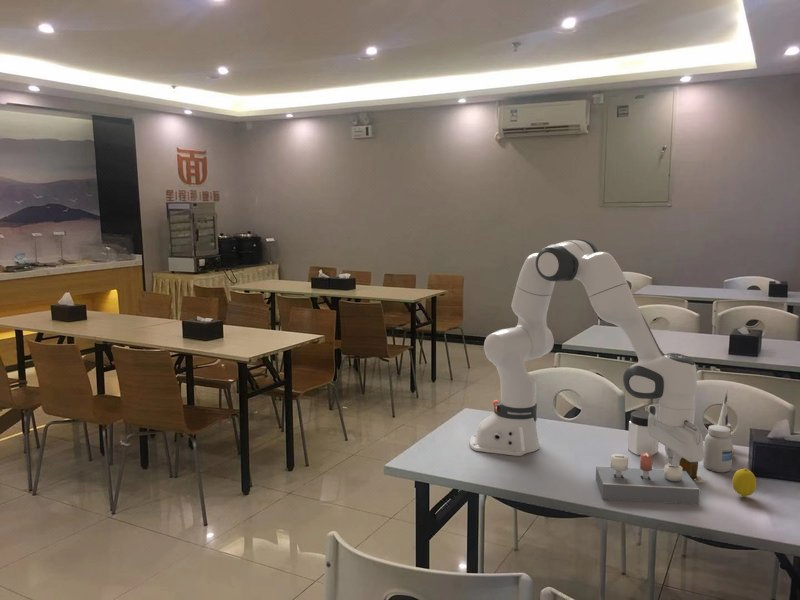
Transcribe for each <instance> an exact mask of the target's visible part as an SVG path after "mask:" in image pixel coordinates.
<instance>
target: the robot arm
mask: <svg viewBox="0 0 800 600" xmlns="http://www.w3.org/2000/svg"><path fill="white" fill-rule="evenodd" d="M518 275H519V276H518V278H517V281H516V285H515V289H514V294H513V297H512V300H511V304H510V306H511V309H512V312H513V313H514V315H515V316H516V317H518V318H517V319H518V320H517V325H516V326H515V327H514V326H513V327H509V328H508V327H507V328H502V329H498V330H496V331H494V332H492V333H490V334H488V335H487V336H486V338H485V339H484V343H483V351H484V354H485V356H486V358H487V360H488V361H489V362H491V364H493V365H494V366H495V368H496V370H497V372H498V376H499V379H500V380H499V381H500V400H498V399H494V400H493V402H492V406H493V408H494V409H493V411H494V412H492V414H490V415H489V416H487V417H486V418H483V420H480V423H479V424H478V426H477V429H476V432H475V433H474V434H472V435H471V437H470V439H469V447H470V448H471V449H472V450H473V451H475V452H481V453H482V452H484V453H491V454H499V455H506V456H507V455H508V456H515V457H522V456H524V455H525V454H528V453H532V452H535V451H537V450H539V449H540V447H541V446H540V445H541V443H540V441H539V436H538V431H537V430H538V429H537V419H538V404H537V402H536V401H537V382H536V378H535V377H534V376H533V375H532V374H530V373H528V371H527V368H526V362H527V361H531V360H534V359H539V358H541V357H543V356H545V355H548V354H549V353H550V352H551V351H552V350H553V348H554V345H555V339H554V336H553V332H552V331H551V329H550V328H549V327H548V322H547V315H548V310H549V307H550V303H551V299H552V295H553V292H554V288H555V284H556V282H557V283H559V282H570V281H573V280H574V279H575V280H578V281H579V282H581V283H582V285H583V287H584V289H585V291H586V294H587V298H588V299H589V302H590V305H591V306H592V309H593V310H594V312H595V313H596V314H597V316H598V318H599V319H601V320H602V321H604V322H607V323H609V324H611V325H612V324H613V325H615V326H616V327H618V328H620V329H621V330H623V331H622V332H624V333H625V334H626V335H627V338H628V340H629V342H630V344H631V346H632V348H633V350H634V352H635V354H636V356H637V359H638V362H635V363H634V364H632V365H630V366H629V367H628V368H627V369H626V370H624V373H623V375H622V384H623V387H624V389H625V390H626V391H627V393H628V394H629V395H630V396H632V397H634V398H635V399H636V398H637V399H643V400H645V399H646V400H653V399H654V400H655V399H657V400H658V403H656V404H649V405H648V406H647V407H648V408H647V411H648V412H649V413H650V414H649V416H648V433H649V435H650V436H651V437H652V438H654V439H655V440H657V441H658V442H659V444H661V445H663V446H664V450H665V454H666V462H667V464H671V465H672V466H674V467H678V466H679V463H680V460H681V458H682V457H683V458H684V459H686V460H688V461H689V462H698V463H700V462H702V461H703V457H704V438H703V434H702V432H701V431H700V429H699V426H697V425H696V424H695V414H696V402H695V395H696V392H697V387H698V379H697V378H698V376H697V375H698V374H697V365H696V363H695V361H694V360H693V359H692V358H691V357H689V356H687V355H684V354H681V353H677V352H676V353H675V352H668V353H664V352H663V351H662V350H661V348H660V347H659V344H658V342H657V341H656V338H655V337H654V335H653V332H652V330H651V328H650V327H649V324H648V322H647V321H646V319H645V316H643V315H644V314H643V313H642V312H641V310H640V307H639V306H638V305H637V302H636V299H635V298H634V295H633V293H632V290H631V288H630V286H629V283H628V280H627V279H626V277H625V274H624V273H623V270H622V269H621V267H620V265H619V264H618V262H617V261H616V259H615V258H614V257H613V255H612V254H610V253H609V252H607V251H598V248H597V246H595V244H594V243H593V242H591V241H590V240H587V239H575V240H574V239H573V240H572V239H571V240H569V239H568V240H564V241H561V242H557V243H553V244H549V245H548V246H545V247H544V248H541V250H540V251H539V252H534V253H531V254H530V255H528V256H527V257H526V258H525V261H524V263H523V265H522V267H521V270H520V271H519V274H518Z"/></svg>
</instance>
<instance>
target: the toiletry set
mask: <svg viewBox="0 0 800 600" xmlns="http://www.w3.org/2000/svg"><path fill="white" fill-rule="evenodd" d="M719 414H720V415H719V418H718V421H717V424H711V425H709V426H708V429H707V430H708V431H707V434H706V435H705V437H704V441H703V446H704V457H703V459H702V461H703V463H702V464H703V467H704V468H706V469H707V470H708V471H712V472H715V473H726V472H730V471H731V469H732V461H733V460H734V459H735V449H734V446H733V445H734V443H733V439H732V437H731V434H732V432H734V430H733V427H732V424H731V423H729V420H728V418H729V417H728V415H729V414H728V388H727V390H726V393H725V395H724V399H723V404H722V407H721V411H720V413H719Z"/></svg>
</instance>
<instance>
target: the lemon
mask: <svg viewBox="0 0 800 600" xmlns="http://www.w3.org/2000/svg"><path fill="white" fill-rule="evenodd" d="M733 474H734V475H733V476H732V488H733V489H734V491H735V492H736V493H737V494H738V495H740V496H741V498H746V497H748V496H751V495H753V494H754V493H755V491H756V488H757V479H756V476H755V474H754V473H753V472H752V471H751V470H749V469H748V468H745V467H744V468H741V469H738V470H736V472H734V473H733Z"/></svg>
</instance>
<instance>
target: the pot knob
mask: <svg viewBox="0 0 800 600" xmlns="http://www.w3.org/2000/svg"><path fill="white" fill-rule="evenodd" d="M653 456H654V455H652V454H650V453H641V455H640V460H639V469H641V470H643V479H645V480H648V475H649V471H652V469H653V459H654V457H653Z"/></svg>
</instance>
